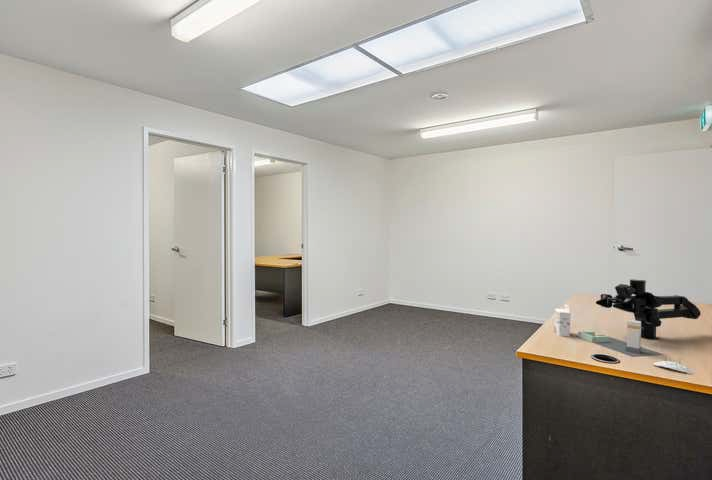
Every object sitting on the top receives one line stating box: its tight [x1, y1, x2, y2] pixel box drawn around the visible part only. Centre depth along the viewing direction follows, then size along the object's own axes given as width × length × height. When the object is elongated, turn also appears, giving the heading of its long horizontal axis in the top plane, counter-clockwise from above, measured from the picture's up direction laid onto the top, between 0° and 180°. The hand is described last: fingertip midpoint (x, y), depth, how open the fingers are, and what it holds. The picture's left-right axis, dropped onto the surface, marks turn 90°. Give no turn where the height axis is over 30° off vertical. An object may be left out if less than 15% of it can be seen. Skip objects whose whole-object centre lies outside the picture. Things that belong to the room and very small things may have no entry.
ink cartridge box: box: [553, 303, 571, 337], centre depth 189 cm, size 9×5×15 cm, turn 168°
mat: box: [574, 334, 666, 358], centre depth 172 cm, size 16×30×1 cm, turn 13°
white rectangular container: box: [626, 319, 642, 354], centre depth 163 cm, size 5×5×12 cm
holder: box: [577, 330, 610, 344], centre depth 180 cm, size 9×9×2 cm
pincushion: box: [652, 355, 694, 375], centre depth 143 cm, size 12×6×6 cm, turn 36°
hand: (604, 304), depth 181 cm, fingers open, 9 cm apart
